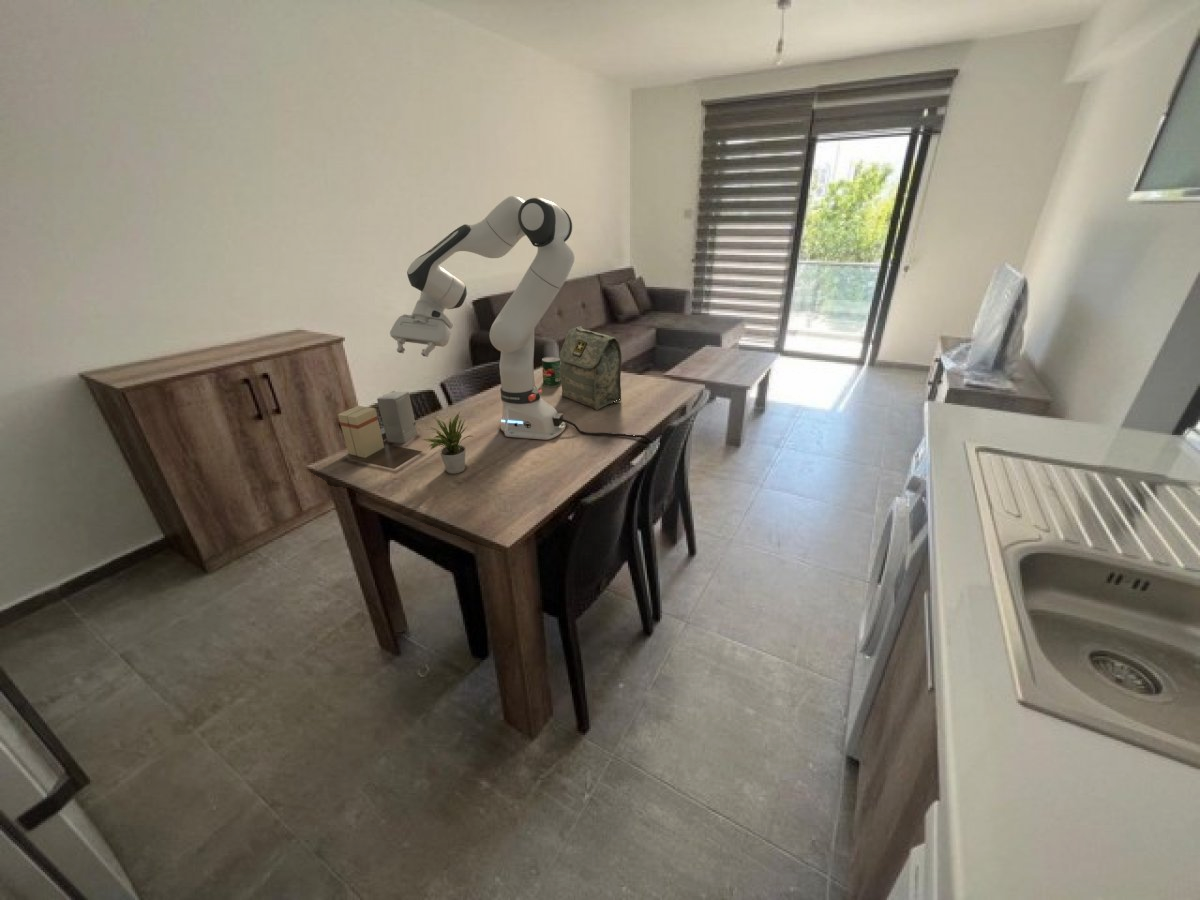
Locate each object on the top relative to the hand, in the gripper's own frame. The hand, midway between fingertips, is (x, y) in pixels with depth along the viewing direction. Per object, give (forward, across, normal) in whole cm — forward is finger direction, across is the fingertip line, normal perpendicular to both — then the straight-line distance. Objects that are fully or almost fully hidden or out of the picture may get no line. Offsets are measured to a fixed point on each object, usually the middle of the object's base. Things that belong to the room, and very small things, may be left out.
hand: (411, 353), depth 154 cm
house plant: (+33, +27, +2) cm, 43 cm away
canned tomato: (-22, +24, +58) cm, 67 cm away
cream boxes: (+34, -3, +1) cm, 34 cm away
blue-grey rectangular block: (+26, -6, +11) cm, 29 cm away
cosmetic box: (+26, 0, +10) cm, 28 cm away
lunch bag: (-13, +46, +48) cm, 68 cm away
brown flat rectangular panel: (+35, +3, +2) cm, 35 cm away
